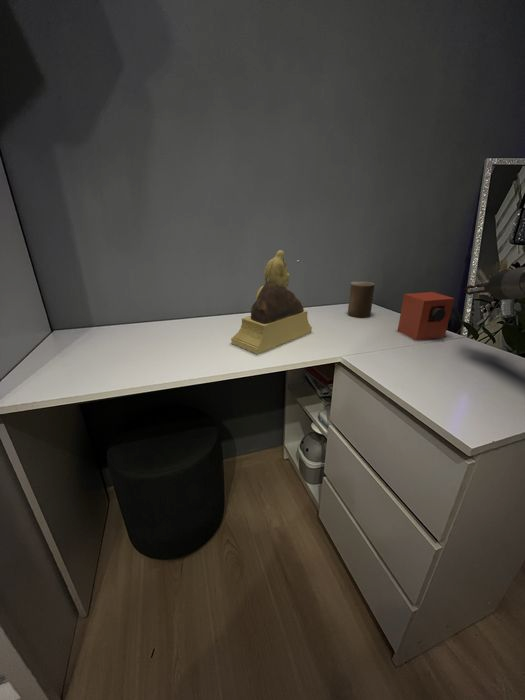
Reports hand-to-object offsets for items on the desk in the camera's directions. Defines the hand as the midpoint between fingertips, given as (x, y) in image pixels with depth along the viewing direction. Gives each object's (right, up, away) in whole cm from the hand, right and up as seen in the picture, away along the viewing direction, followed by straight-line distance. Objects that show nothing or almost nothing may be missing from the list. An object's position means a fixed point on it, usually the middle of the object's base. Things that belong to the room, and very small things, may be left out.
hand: (467, 290), depth 91 cm
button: (-3, -8, +10) cm, 14 cm away
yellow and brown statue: (-59, -14, +16) cm, 63 cm away
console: (-5, -12, +18) cm, 22 cm away
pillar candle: (-20, -3, +40) cm, 45 cm away
